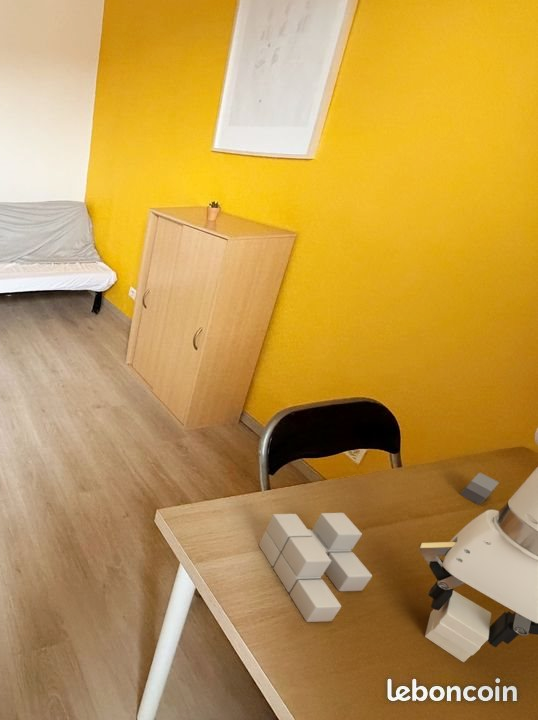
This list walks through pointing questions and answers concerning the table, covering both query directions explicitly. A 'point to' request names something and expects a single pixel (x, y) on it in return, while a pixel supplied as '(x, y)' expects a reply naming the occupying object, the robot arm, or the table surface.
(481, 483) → the grey blocks
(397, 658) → the table surface
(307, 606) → the light grey block structure
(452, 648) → the ivory rectangular block
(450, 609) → the cream white block
